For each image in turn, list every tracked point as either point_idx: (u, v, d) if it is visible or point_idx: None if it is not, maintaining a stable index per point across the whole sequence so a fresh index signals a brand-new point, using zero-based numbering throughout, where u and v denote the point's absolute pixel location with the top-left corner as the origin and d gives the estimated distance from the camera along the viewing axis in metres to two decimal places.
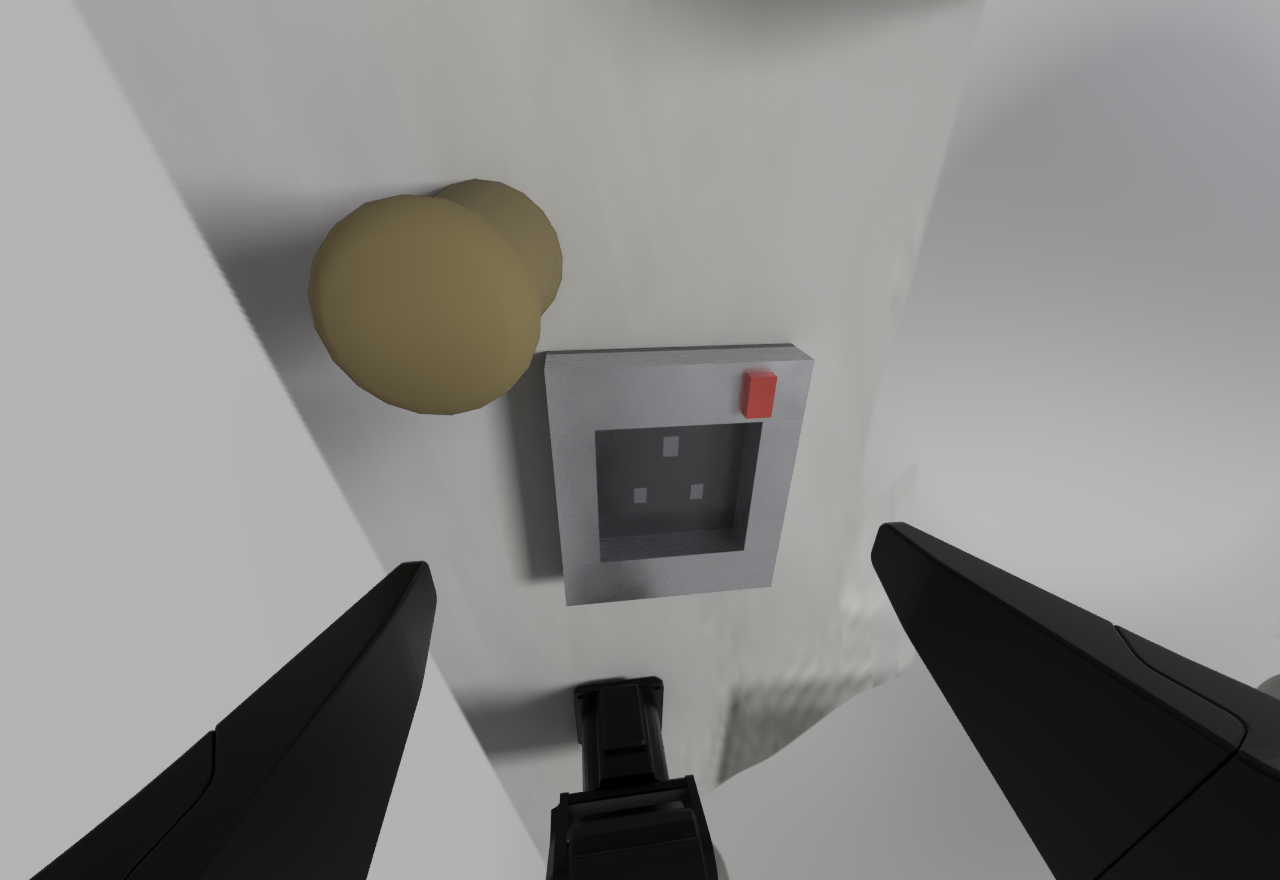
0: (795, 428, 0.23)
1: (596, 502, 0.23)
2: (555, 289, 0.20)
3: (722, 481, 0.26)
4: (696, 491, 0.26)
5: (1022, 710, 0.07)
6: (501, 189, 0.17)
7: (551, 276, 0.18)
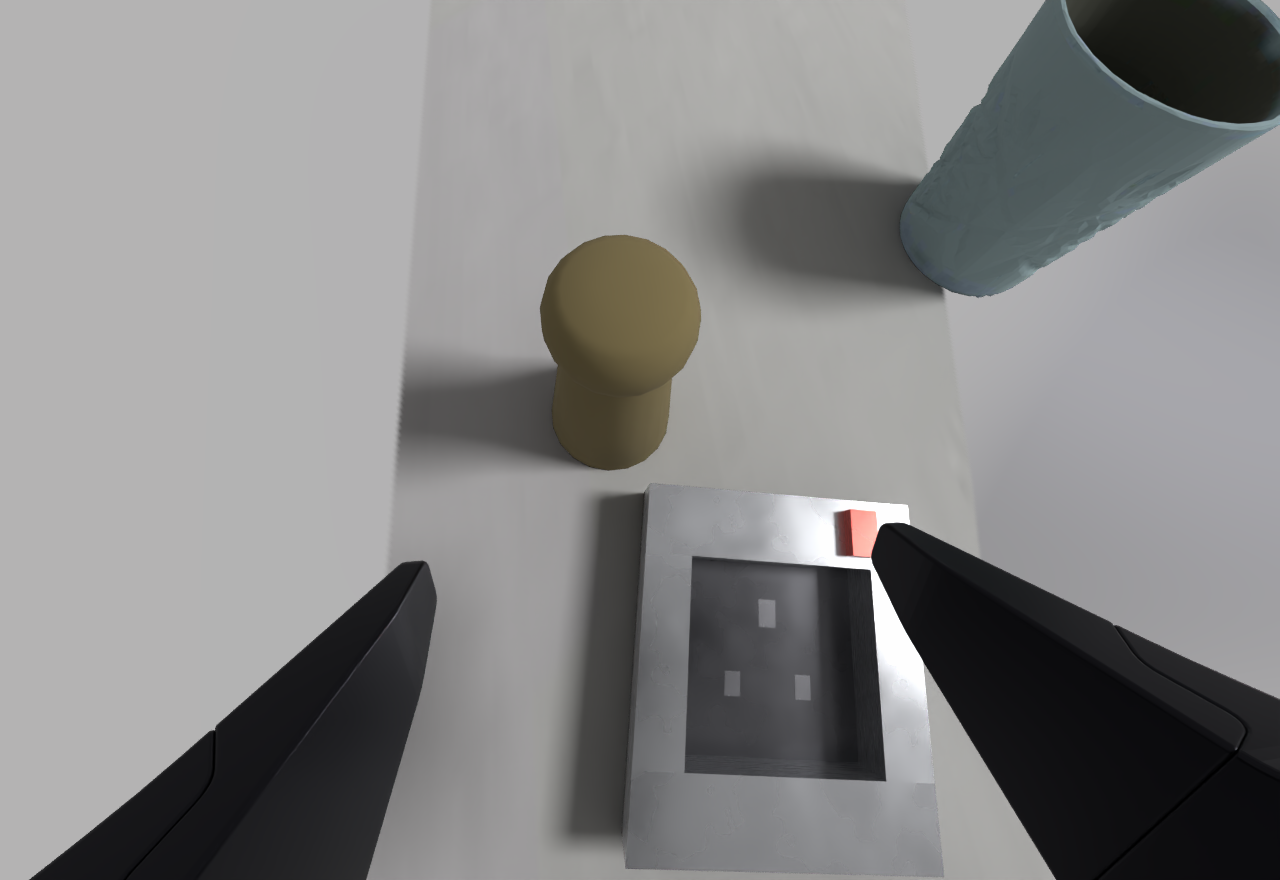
0: None
1: (686, 657, 0.19)
2: (664, 429, 0.23)
3: (832, 675, 0.21)
4: (802, 689, 0.21)
5: (1022, 710, 0.07)
6: None
7: (669, 402, 0.22)
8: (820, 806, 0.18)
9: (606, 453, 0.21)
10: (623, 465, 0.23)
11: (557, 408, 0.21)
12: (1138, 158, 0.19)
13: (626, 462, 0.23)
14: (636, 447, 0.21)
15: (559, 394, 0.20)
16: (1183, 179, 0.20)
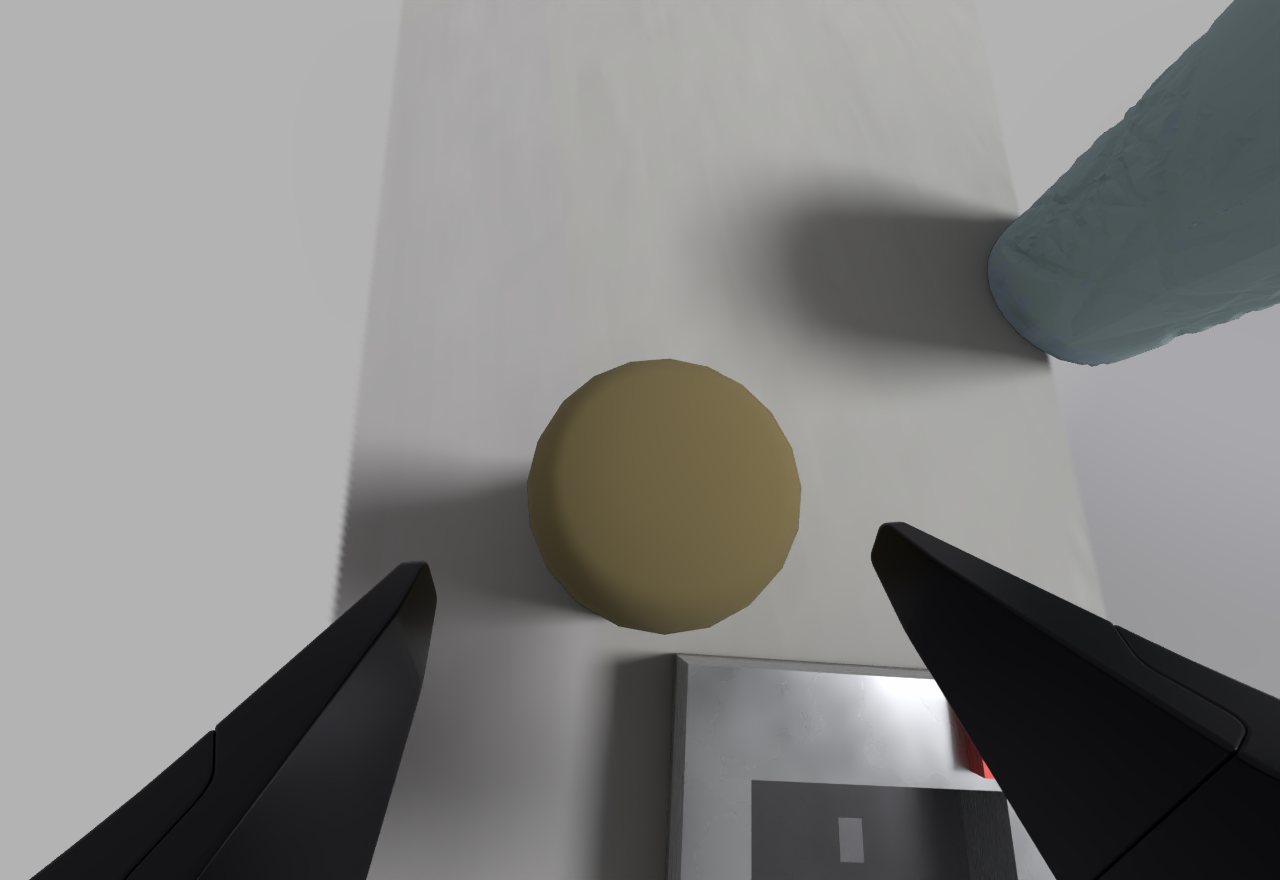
0: None
1: None
2: None
3: None
4: None
5: (1022, 710, 0.07)
6: None
7: None
8: None
9: None
10: None
11: None
12: None
13: None
14: None
15: None
16: None
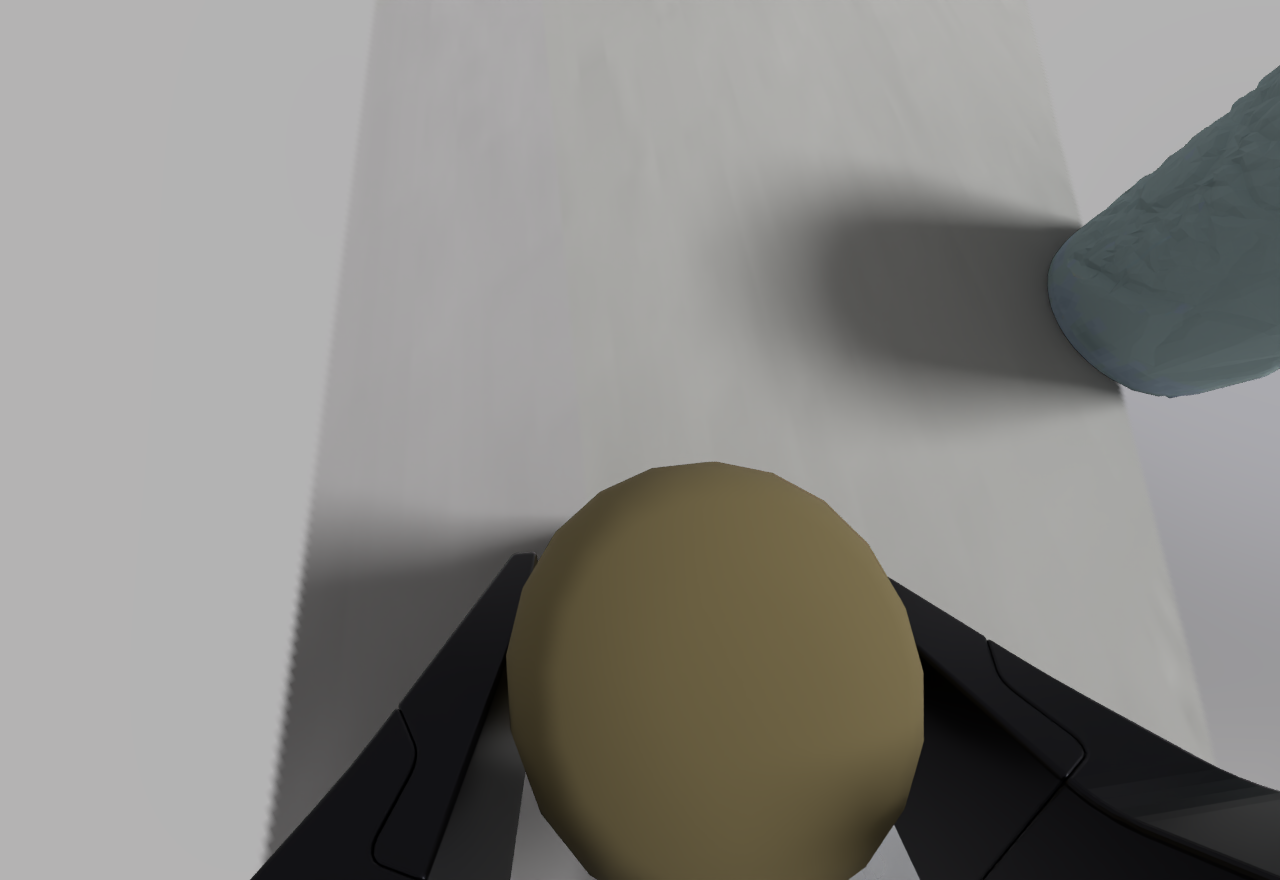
0: None
1: None
2: None
3: None
4: None
5: None
6: None
7: None
8: None
9: None
10: None
11: None
12: None
13: None
14: None
15: None
16: None
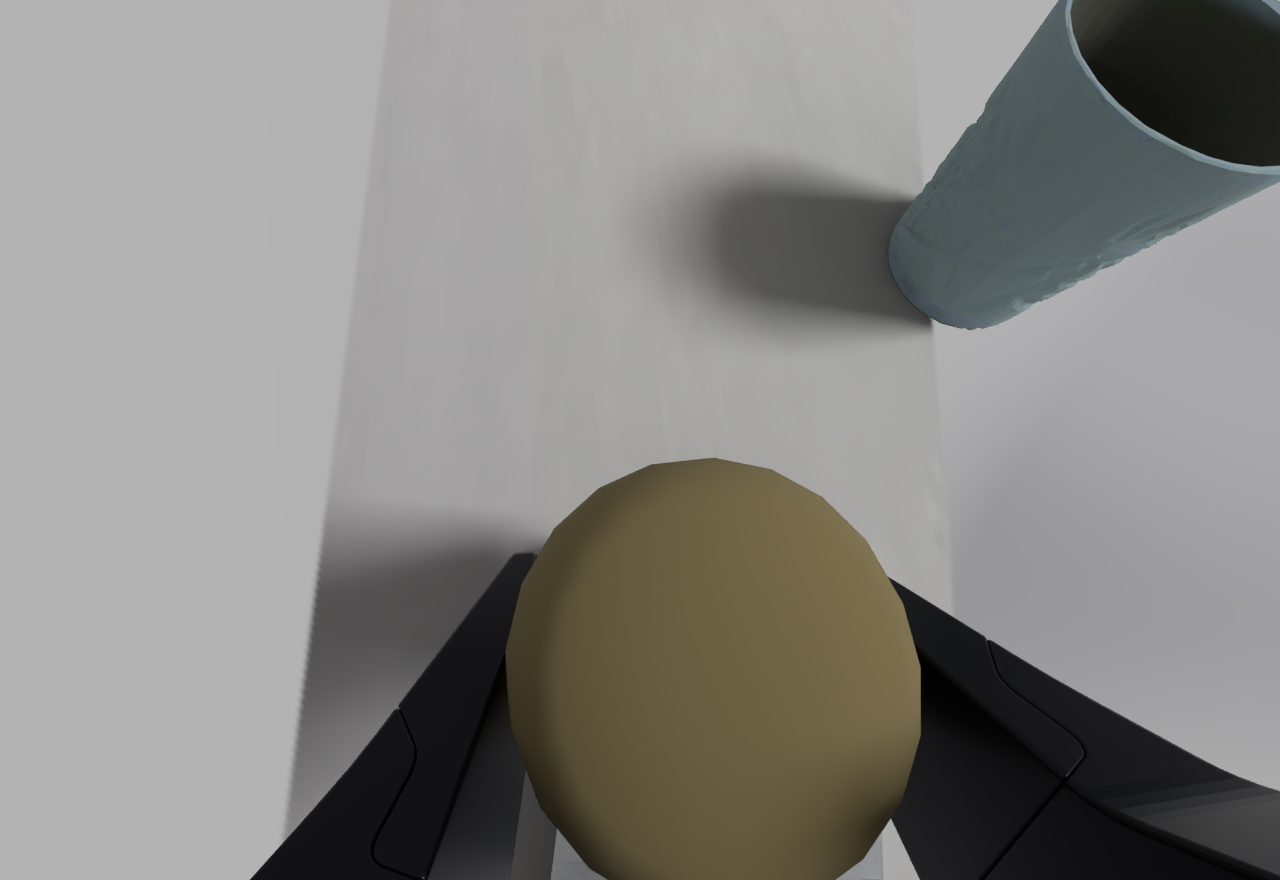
0: None
1: None
2: None
3: None
4: None
5: None
6: None
7: None
8: None
9: None
10: None
11: None
12: (1144, 199, 0.16)
13: None
14: None
15: None
16: (1196, 220, 0.18)
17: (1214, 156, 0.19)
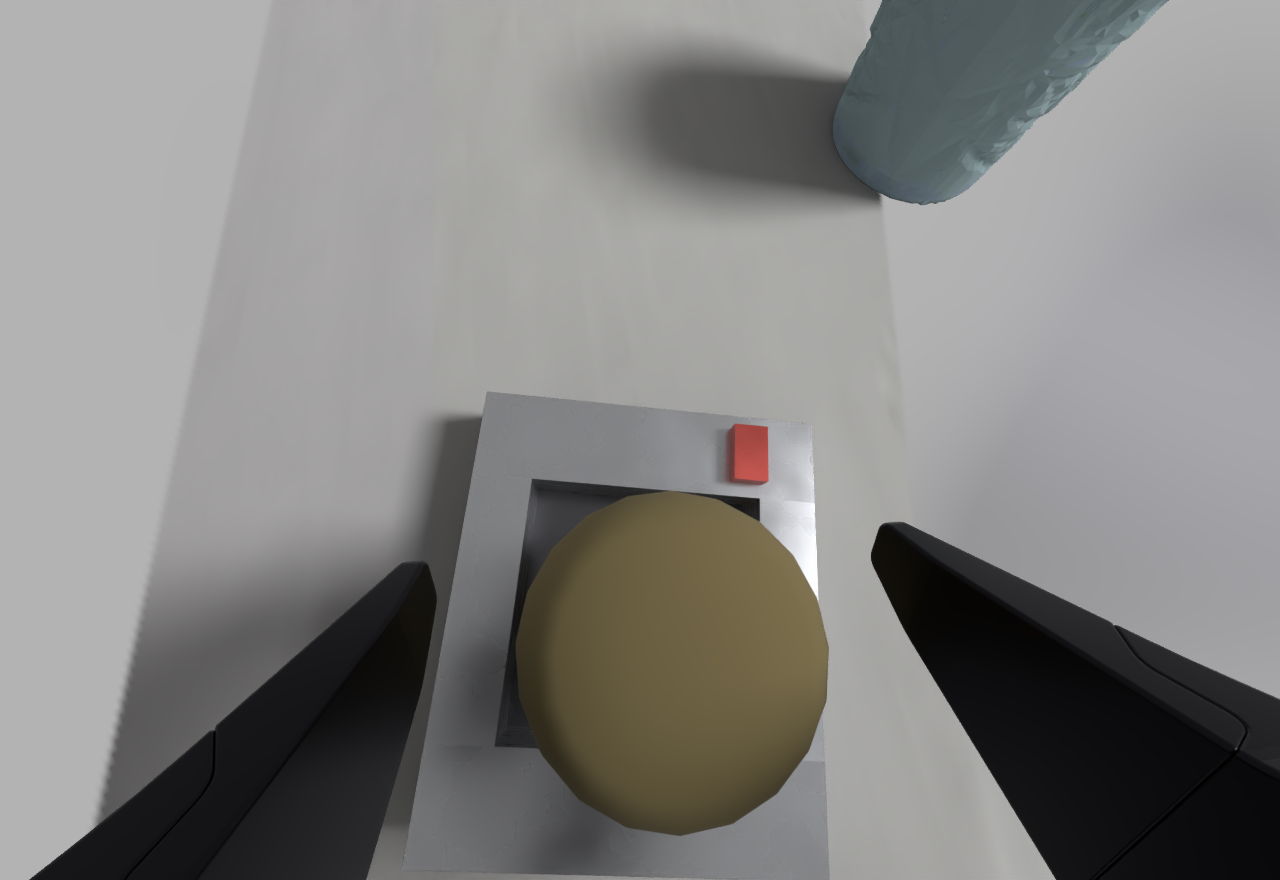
0: (807, 516, 0.17)
1: (512, 602, 0.15)
2: None
3: None
4: None
5: (1022, 710, 0.07)
6: None
7: None
8: None
9: None
10: None
11: None
12: None
13: None
14: None
15: None
16: (1147, 7, 0.16)
17: None
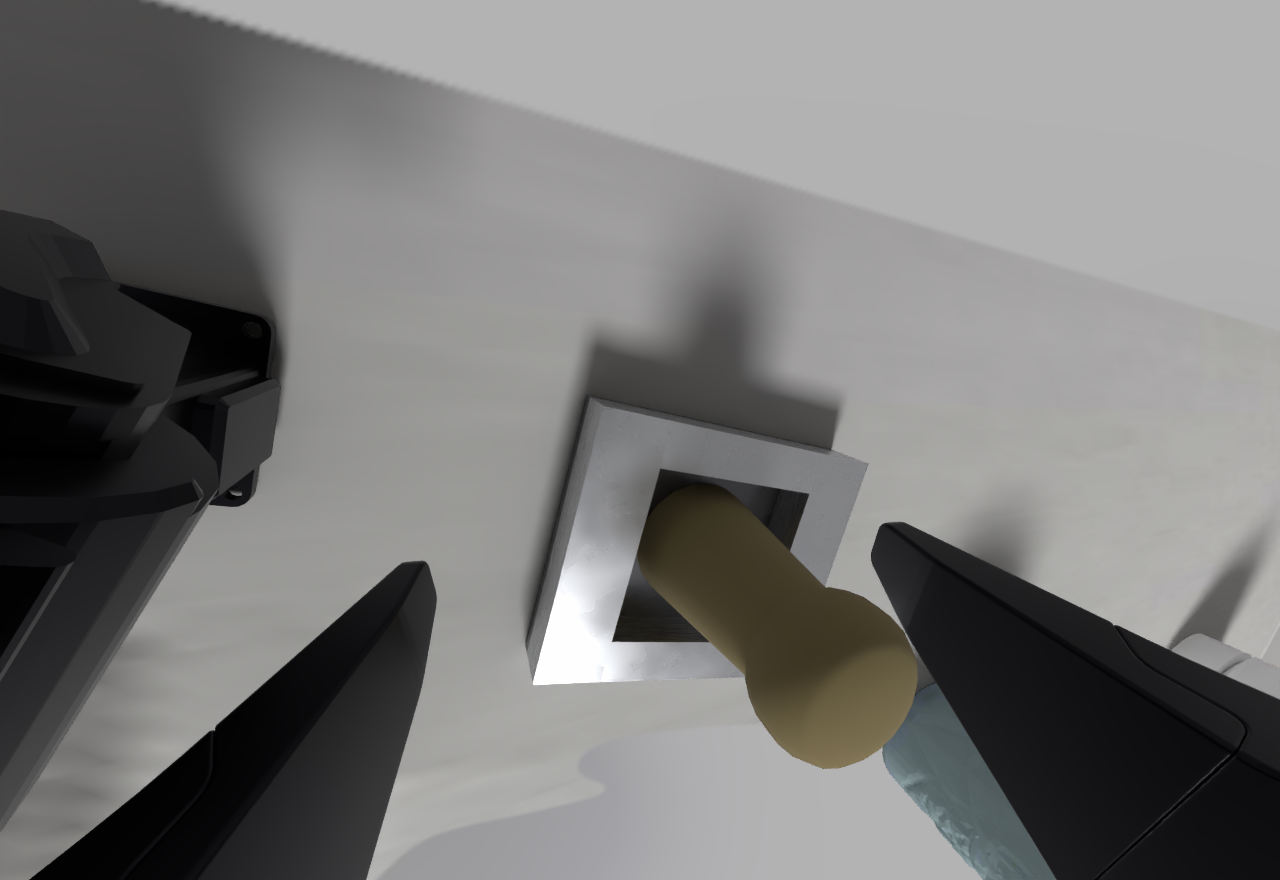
0: (741, 672, 0.24)
1: (740, 480, 0.21)
2: None
3: None
4: None
5: (1022, 710, 0.07)
6: None
7: None
8: (607, 584, 0.19)
9: (662, 558, 0.20)
10: (642, 558, 0.22)
11: (719, 517, 0.20)
12: (1048, 870, 0.24)
13: (645, 564, 0.21)
14: (663, 588, 0.20)
15: (739, 537, 0.18)
16: None
17: None
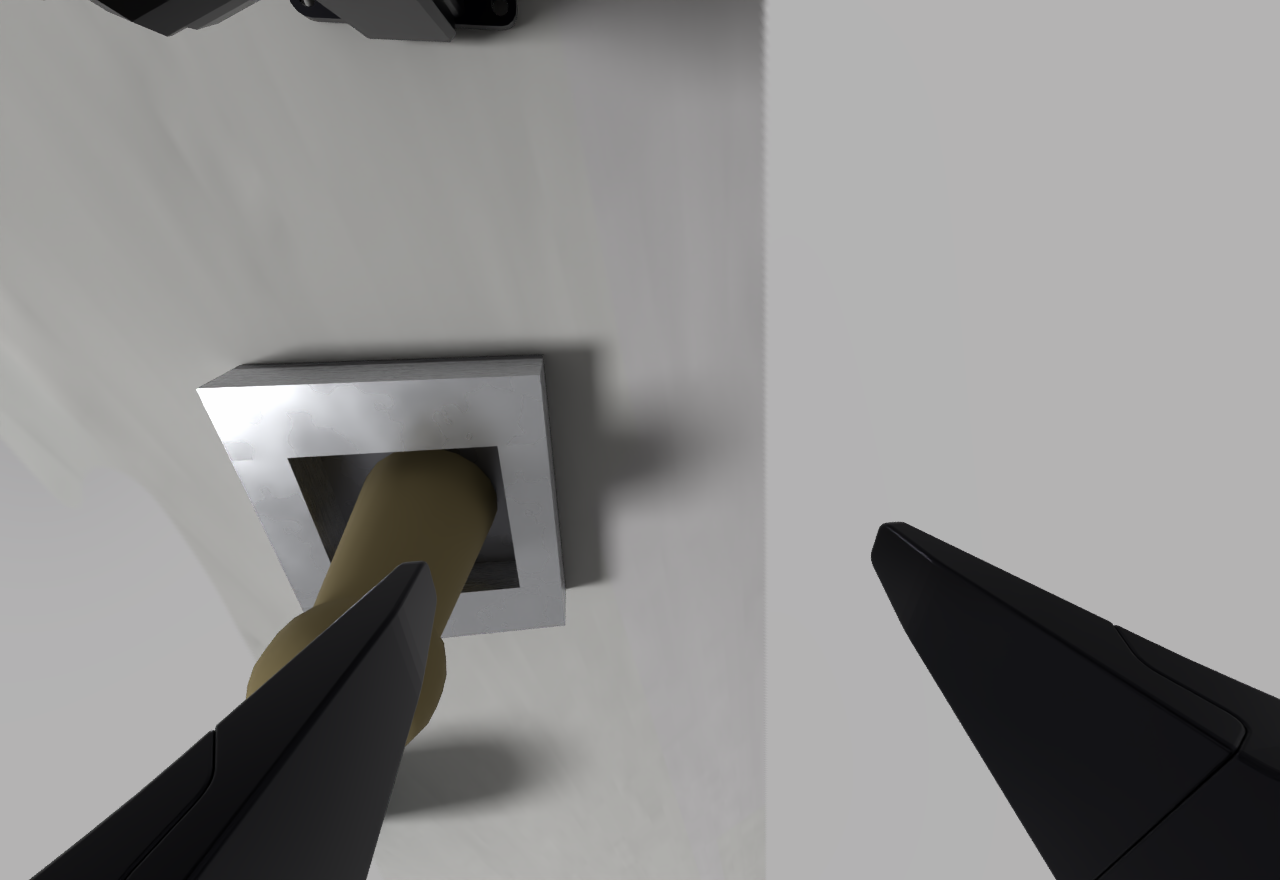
0: (304, 599, 0.22)
1: (511, 522, 0.21)
2: None
3: None
4: None
5: (1022, 710, 0.07)
6: None
7: None
8: (354, 433, 0.18)
9: (405, 478, 0.19)
10: (395, 458, 0.20)
11: (468, 517, 0.20)
12: None
13: (390, 463, 0.20)
14: (372, 490, 0.19)
15: (457, 543, 0.18)
16: None
17: None
